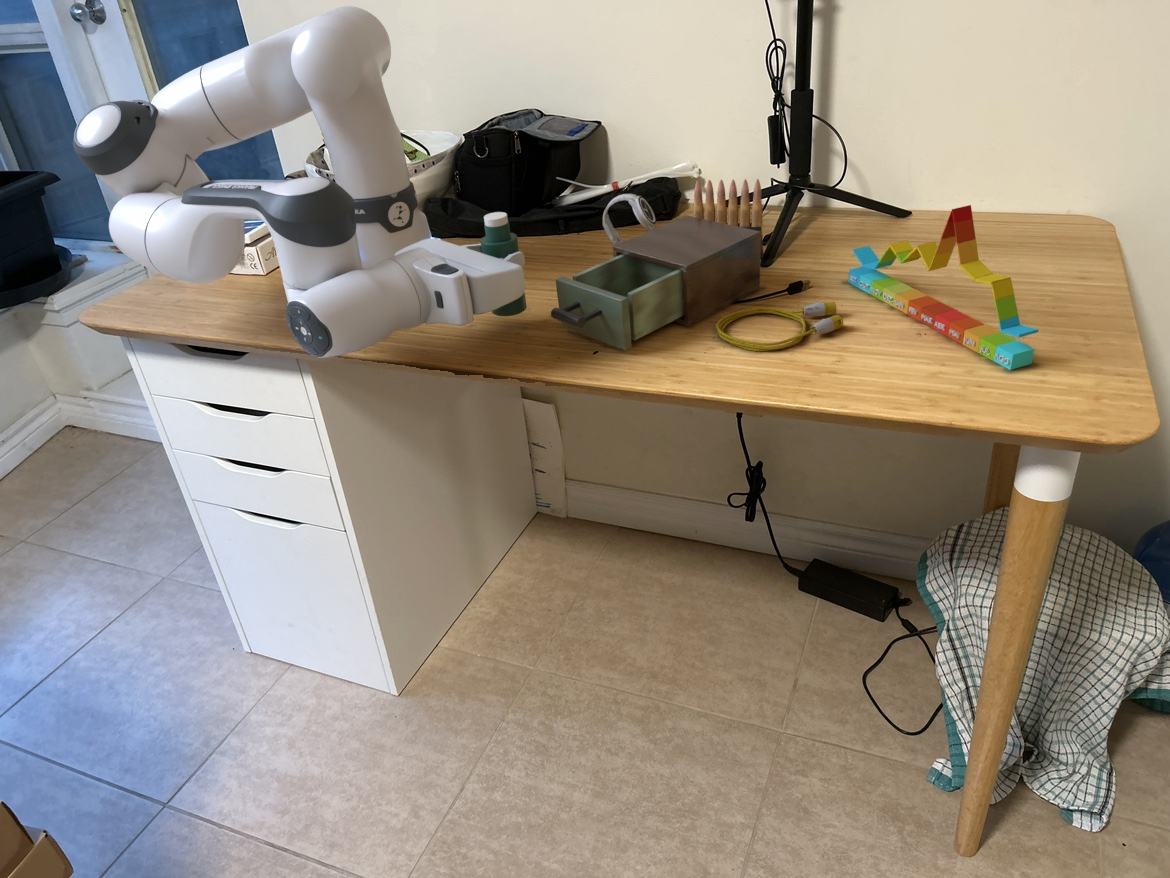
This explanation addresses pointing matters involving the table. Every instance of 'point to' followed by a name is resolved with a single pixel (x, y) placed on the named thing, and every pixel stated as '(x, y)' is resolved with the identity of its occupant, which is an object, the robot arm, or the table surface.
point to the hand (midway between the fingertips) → (506, 252)
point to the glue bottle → (501, 253)
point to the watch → (640, 211)
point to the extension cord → (810, 310)
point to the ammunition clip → (731, 206)
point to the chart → (939, 314)
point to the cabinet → (702, 261)
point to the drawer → (620, 299)
